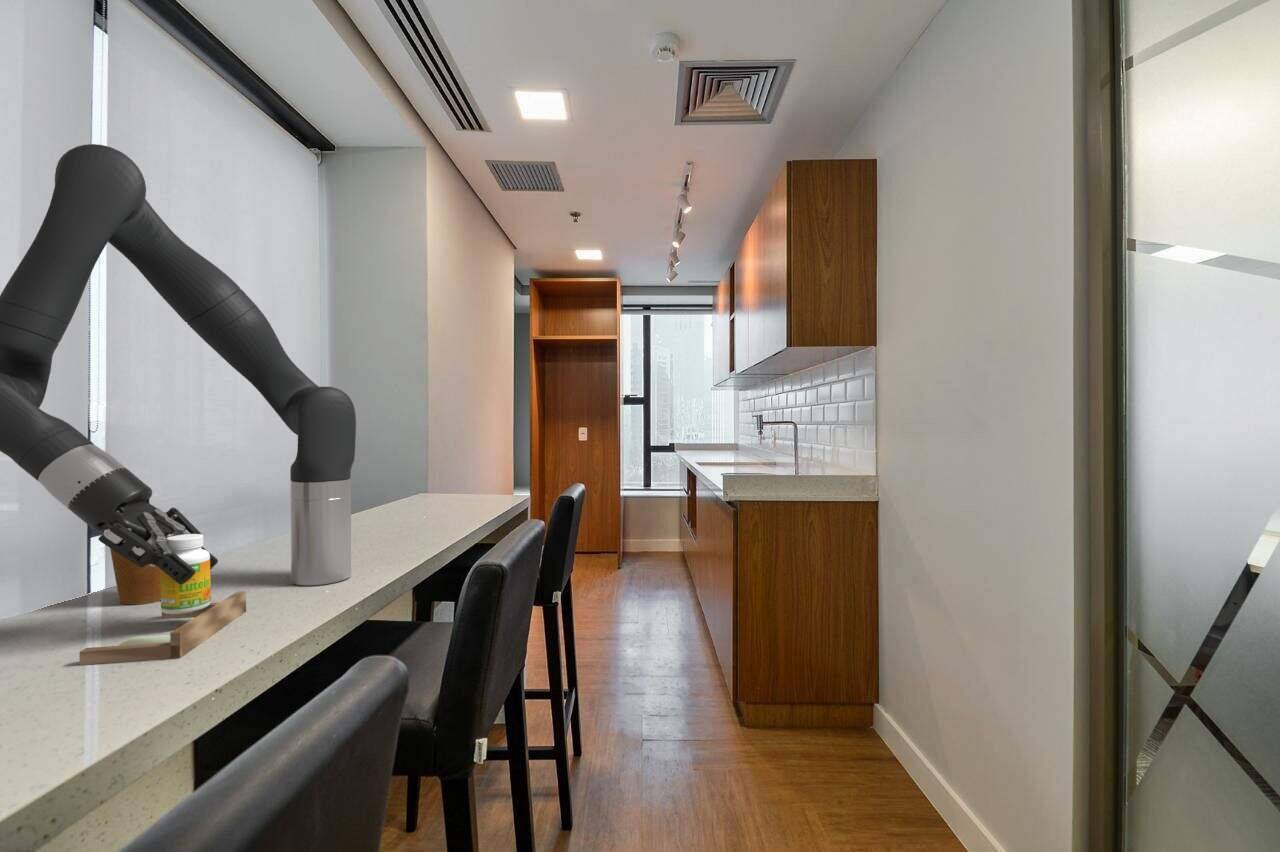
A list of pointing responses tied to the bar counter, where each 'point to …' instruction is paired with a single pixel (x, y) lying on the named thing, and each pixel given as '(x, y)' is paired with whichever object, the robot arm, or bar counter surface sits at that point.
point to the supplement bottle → (197, 587)
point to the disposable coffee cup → (136, 581)
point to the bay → (172, 635)
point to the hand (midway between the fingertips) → (200, 572)
